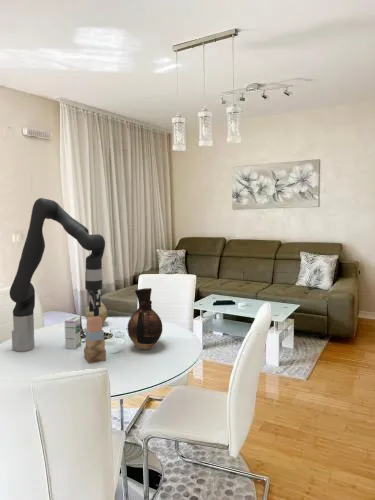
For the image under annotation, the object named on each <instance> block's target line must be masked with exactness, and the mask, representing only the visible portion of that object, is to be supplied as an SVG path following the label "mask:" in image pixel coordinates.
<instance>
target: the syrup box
mask: <svg viewBox="0 0 375 500" xmlns="http://www.w3.org/2000/svg"><path fill="white" fill-rule="evenodd" d="M64 339H65V340H64V341H65V342H64V343H65V349H71V350H72V349H73V350H76V349H78V348H79V347H81V346H82V343H81V341H82V339H81V323H80V316H70V317H68V318H66V319H64Z"/></svg>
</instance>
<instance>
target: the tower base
mask: <svg viewBox="0 0 375 500" xmlns="http://www.w3.org/2000/svg"><path fill="white" fill-rule="evenodd" d="M106 351H107V350H106V349H105V350H103V351H97V352H91V353H89V352H88V350H87V349H86V346H84V347H83V358H84V360H85V361H86V362H87V364H88V365H89V364H94V363H100V361H101V362H105V361H106V360H107V357H106V356H107V355H106V354H107V352H106Z"/></svg>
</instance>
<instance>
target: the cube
mask: <svg viewBox="0 0 375 500" xmlns="http://www.w3.org/2000/svg"><path fill="white" fill-rule="evenodd" d="M86 329H87V330H88V331H89V332H97V331H102V330H103V323H102V319H101V318H100V317H99V316H94V317H87V319H86Z"/></svg>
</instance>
